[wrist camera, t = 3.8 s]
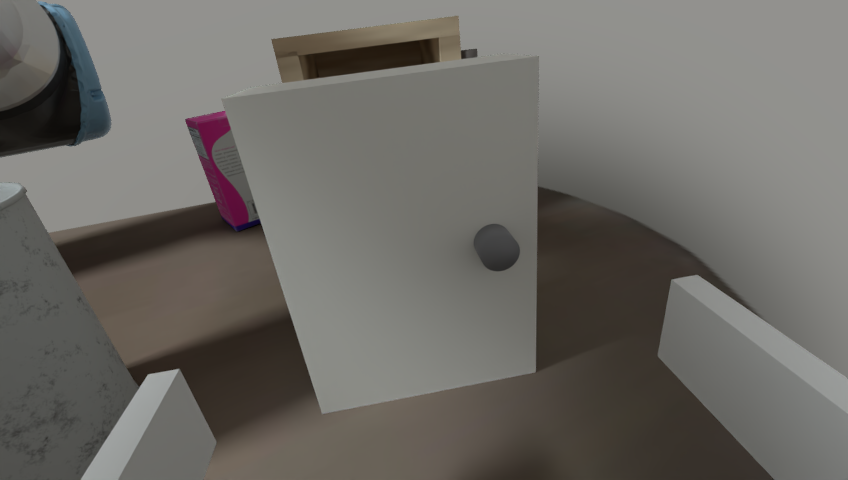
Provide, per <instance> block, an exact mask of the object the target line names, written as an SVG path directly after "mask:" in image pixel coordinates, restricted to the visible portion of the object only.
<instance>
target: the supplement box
mask: <svg viewBox="0 0 848 480" xmlns="http://www.w3.org/2000/svg"><path fill="white" fill-rule="evenodd" d="M186 124H187V126H188V129H189V132H190V135H191V137H192V140H193V143H194V145H195V148H196V150H197V153H198V156H199V159H200V161H201V164H202V166H203V169H204V171H205V174H206V177H207V179H208V182H209V185H210V187H211V190H212V193H213V195H214V198H215V201H216V203H217V206H218V209H219V211H220V214H221V217H222V219H224V220H225V221H226V222H227V223H228V224H229V225H230V226H231V227H232V228H234V229H235V230H236V231H237V232H238V231H240V230H243V229H246V228H249V227H252V226H254V225H257V224H260V223H261V221H260V218H259V215H258V212H257V209H256V206H255V202H254V199H253V196H252V193H251V190H250V187H249V184H248V181H247V177H246V174H245V171H244V168H243V165H242V162H241V159H240V156H239V152H238V149H237V146H236V143H235V140H234V137H233V134H232V130H231V127H230V124H229V121H228V118H227V115H226V112H225V111H222V112H217V113H212V114H207V115H202V116H197V117H193V118H188V119H186Z"/></svg>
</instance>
